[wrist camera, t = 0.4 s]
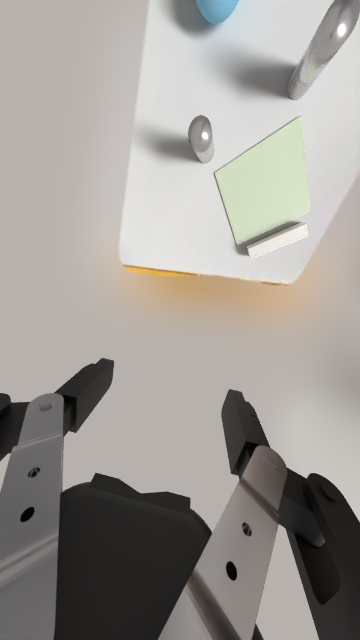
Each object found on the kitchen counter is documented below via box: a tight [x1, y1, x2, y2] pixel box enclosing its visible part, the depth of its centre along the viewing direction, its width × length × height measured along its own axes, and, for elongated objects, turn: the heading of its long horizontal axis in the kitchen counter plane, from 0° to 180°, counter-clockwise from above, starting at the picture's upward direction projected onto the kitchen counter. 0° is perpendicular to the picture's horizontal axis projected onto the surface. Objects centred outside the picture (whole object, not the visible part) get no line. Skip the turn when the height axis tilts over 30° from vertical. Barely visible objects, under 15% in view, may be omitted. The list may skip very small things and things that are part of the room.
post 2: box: [288, 0, 360, 100], centre depth 18 cm, size 3×3×9 cm
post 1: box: [188, 115, 214, 163], centre depth 23 cm, size 3×3×9 cm
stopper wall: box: [246, 222, 308, 259], centre depth 30 cm, size 2×9×2 cm, turn 117°
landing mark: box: [215, 116, 311, 245], centre depth 28 cm, size 12×12×1 cm
